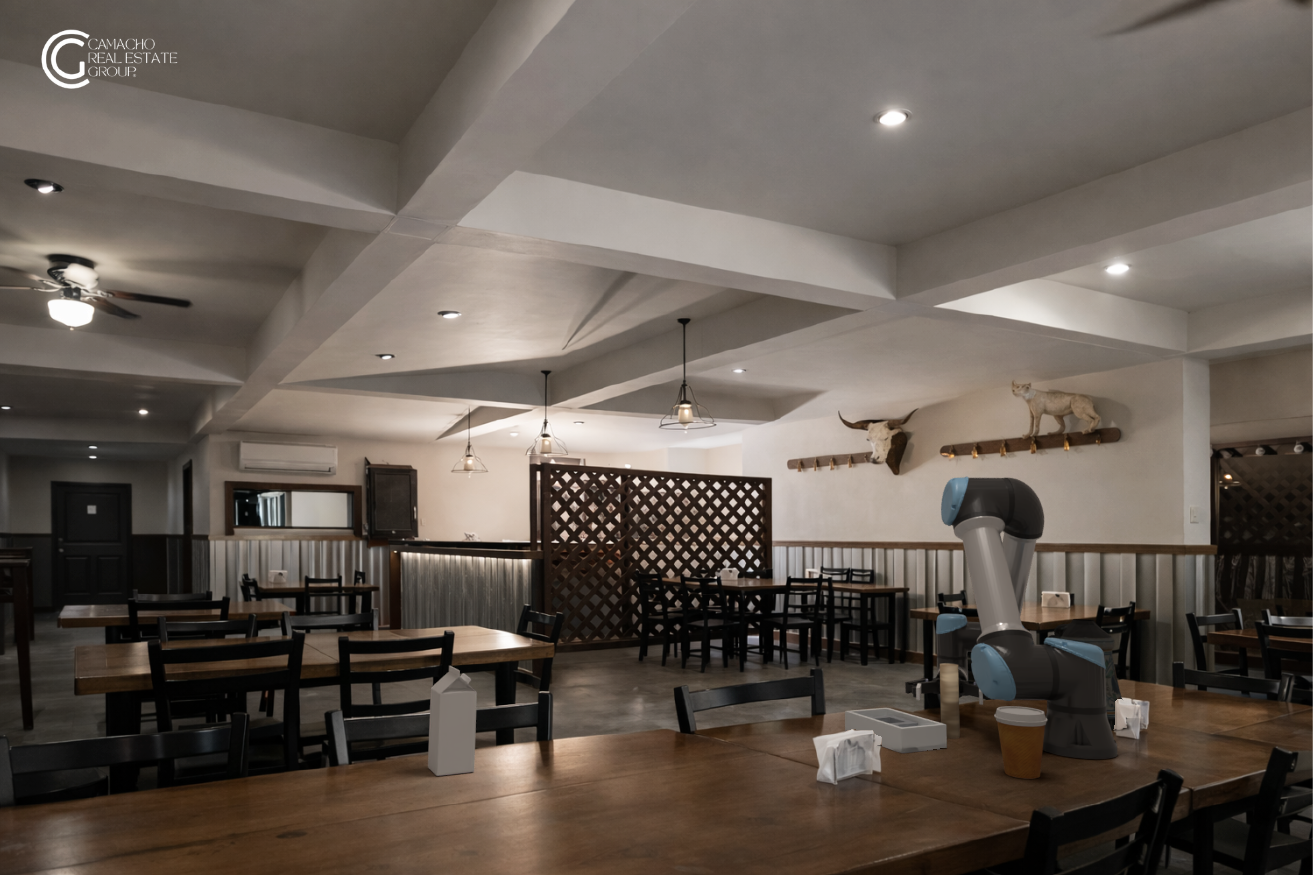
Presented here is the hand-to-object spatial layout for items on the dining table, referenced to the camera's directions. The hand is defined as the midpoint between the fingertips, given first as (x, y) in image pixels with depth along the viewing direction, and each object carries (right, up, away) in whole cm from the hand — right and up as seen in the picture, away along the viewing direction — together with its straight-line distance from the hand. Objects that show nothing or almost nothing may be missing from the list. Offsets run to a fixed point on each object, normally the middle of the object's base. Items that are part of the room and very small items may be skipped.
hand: (949, 695), depth 204 cm
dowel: (+1, -10, +2) cm, 10 cm away
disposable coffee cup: (+4, -7, -30) cm, 31 cm away
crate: (-13, -9, -3) cm, 16 cm away
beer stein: (+39, -12, +19) cm, 45 cm away
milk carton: (-105, -5, -32) cm, 110 cm away
